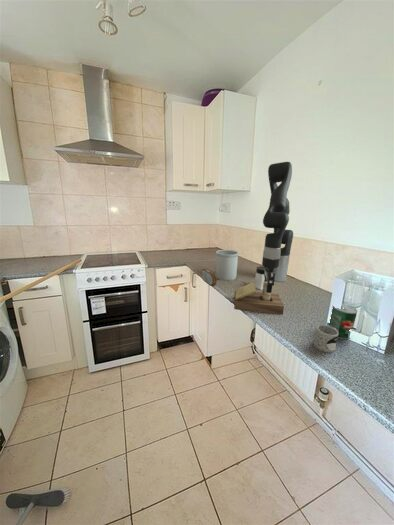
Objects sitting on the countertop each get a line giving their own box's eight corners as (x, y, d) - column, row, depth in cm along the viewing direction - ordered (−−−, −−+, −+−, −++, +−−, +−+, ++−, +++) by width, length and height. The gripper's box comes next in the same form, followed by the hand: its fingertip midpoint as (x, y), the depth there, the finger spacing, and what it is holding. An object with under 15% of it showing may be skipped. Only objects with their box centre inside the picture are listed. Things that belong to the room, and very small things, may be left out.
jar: (257, 290, 126) (259, 270, 122) (251, 285, 133) (253, 266, 130) (271, 289, 127) (274, 270, 124) (265, 284, 135) (267, 266, 131)
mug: (329, 355, 73) (332, 338, 71) (309, 344, 78) (312, 328, 76) (342, 345, 78) (346, 329, 76) (323, 335, 84) (327, 320, 82)
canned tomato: (330, 325, 91) (335, 301, 88) (352, 333, 86) (359, 308, 83) (325, 333, 85) (330, 307, 82) (348, 342, 80) (355, 315, 77)
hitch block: (234, 297, 116) (234, 290, 115) (277, 301, 112) (278, 294, 111) (234, 309, 102) (234, 301, 101) (282, 314, 99) (284, 306, 98)
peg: (260, 303, 109) (263, 281, 106) (268, 304, 108) (271, 281, 105) (261, 307, 105) (264, 284, 102) (269, 308, 104) (272, 284, 101)
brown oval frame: (216, 287, 128) (217, 273, 126) (212, 288, 127) (212, 274, 125) (204, 279, 141) (205, 266, 139) (200, 279, 140) (201, 267, 138)
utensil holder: (215, 280, 139) (217, 254, 134) (213, 273, 153) (214, 249, 148) (238, 281, 139) (240, 254, 134) (234, 273, 153) (236, 249, 149)
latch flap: (236, 291, 113) (235, 289, 113) (254, 283, 110) (253, 282, 110) (236, 300, 102) (235, 298, 102) (256, 291, 100) (255, 290, 100)
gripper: (261, 252, 107) (257, 283, 112) (265, 259, 94) (261, 294, 98) (277, 253, 106) (273, 284, 110) (283, 261, 92) (278, 295, 97)
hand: (267, 288), depth 104 cm, fingers open, 8 cm apart
